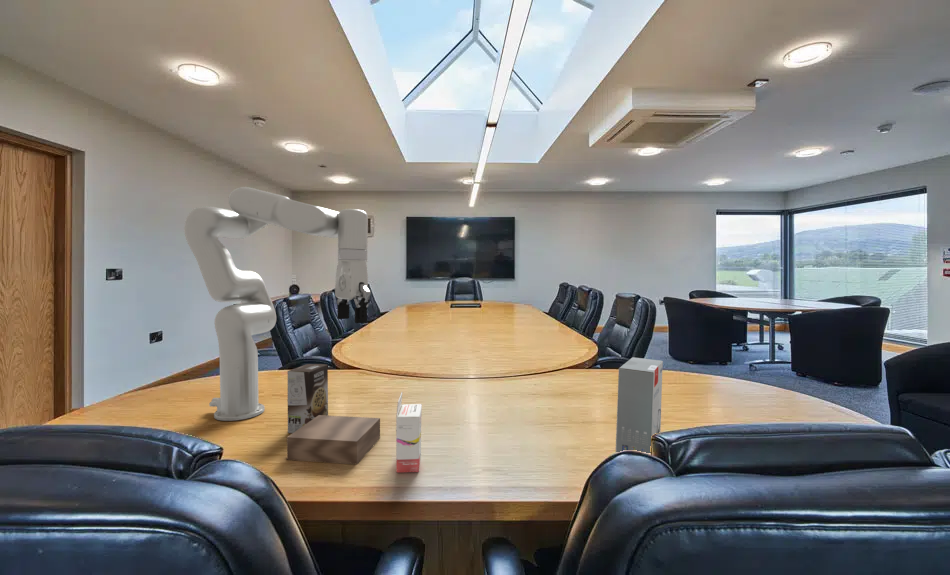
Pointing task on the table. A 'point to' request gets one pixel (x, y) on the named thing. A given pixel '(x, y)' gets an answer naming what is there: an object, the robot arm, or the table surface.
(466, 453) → the table surface
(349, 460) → the walnut plinth
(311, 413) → the chocolate food box
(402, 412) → the ink cartridge box
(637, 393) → the hard drive box
